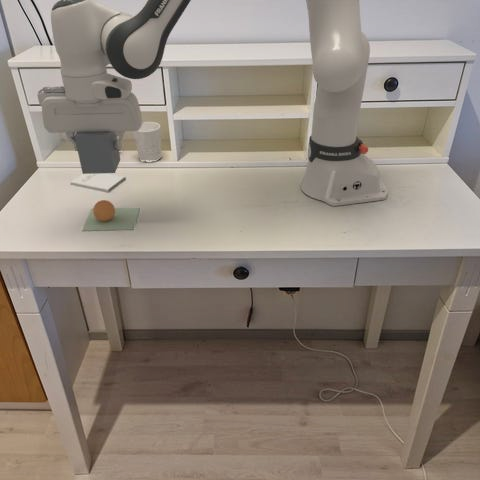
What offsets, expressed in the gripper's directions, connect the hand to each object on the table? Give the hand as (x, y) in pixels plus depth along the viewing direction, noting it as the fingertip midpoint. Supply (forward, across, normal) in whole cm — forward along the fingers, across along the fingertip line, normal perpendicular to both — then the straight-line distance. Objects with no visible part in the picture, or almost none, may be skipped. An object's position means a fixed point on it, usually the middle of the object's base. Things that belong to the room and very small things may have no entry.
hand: (98, 149), depth 103 cm
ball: (+16, -2, 0) cm, 16 cm away
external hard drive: (+19, -8, +20) cm, 28 cm away
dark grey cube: (+4, 0, 0) cm, 4 cm away
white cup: (+18, +5, +35) cm, 40 cm away
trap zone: (+18, 0, 0) cm, 18 cm away
